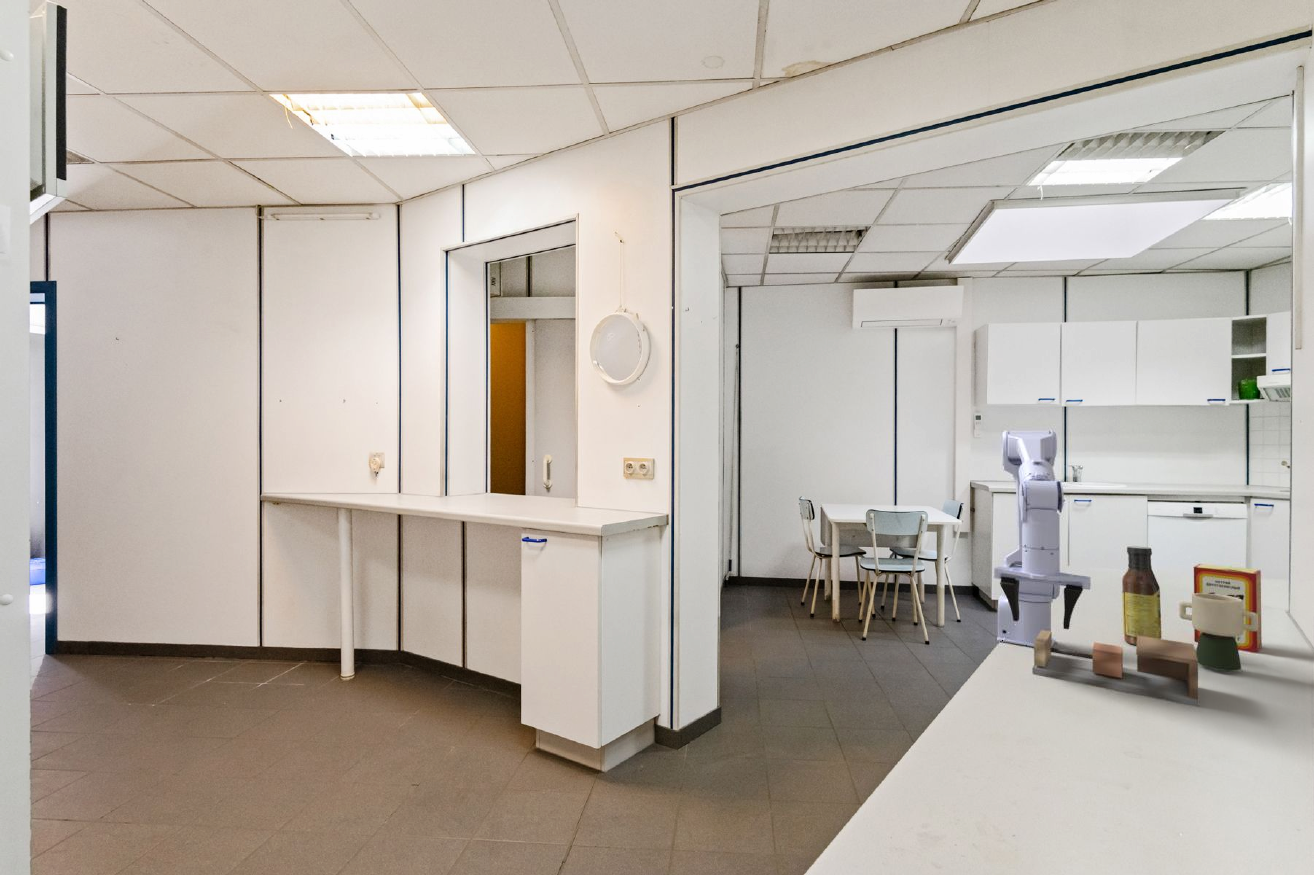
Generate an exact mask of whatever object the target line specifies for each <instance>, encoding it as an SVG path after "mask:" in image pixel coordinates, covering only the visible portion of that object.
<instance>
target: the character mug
mask: <svg viewBox="0 0 1314 875" xmlns="http://www.w3.org/2000/svg"><path fill="white" fill-rule="evenodd" d="M1178 607H1179V609H1178V610H1179V612H1178V613H1179V618H1180V619H1183V620H1187V621H1191V625H1192V627H1193V629H1196V630H1198V631H1201V632H1203V633H1201V634H1200V636H1199V639H1198V642H1197V647H1196V650H1195V651H1196V655H1197V659H1198V665H1201V666H1204V667H1206V668H1207V669H1208V668H1209V669H1212V670H1218V671H1227V672H1231V671H1238V670H1242V664H1241V657H1240V654H1239V650H1238V646H1237V642H1236V640H1235V639H1234V638H1233V637H1236V636H1241V635H1242V634H1243V632H1244V630H1249V631H1257V630H1258V615H1257V614H1256V613H1254V612H1248V611H1244V610H1243V600H1241V599H1239V598H1235V597H1231V596H1225V595H1218V594H1206V593H1195V594H1194V593H1192V594H1191V602H1189V601H1180V602H1179V605H1178ZM1187 608H1190V609H1191V615H1190V614H1187ZM1244 616H1245V617H1250V618H1251V625H1246V624H1244Z"/></svg>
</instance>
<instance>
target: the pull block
mask: <svg viewBox="0 0 1314 875" xmlns="http://www.w3.org/2000/svg"><path fill="white" fill-rule="evenodd" d="M1052 638H1053V637H1052V631H1051V632H1050V631H1044V630H1041V632H1040V633H1039V635H1038V637H1037V638H1036V640H1035V642H1034V647H1033V663H1034V664H1033V666H1034V665H1037V666H1042V667H1045V666H1046V664H1047V662H1048V660H1049V658H1050V656H1051V655H1052V653H1055V654H1059V655H1066V656H1072V657H1077V658H1082V659H1086V660H1092V662H1093V673H1097V674H1103V675H1108V676H1113V677H1119V678H1122V672H1123V668H1124V667H1123V666H1124V665H1123V664H1124V662H1123V661H1124V660H1123V646H1119V645H1118V646H1117V645H1112V644H1106V643H1099V642H1093V646H1092V653H1085V652H1079V651H1072V650H1067V649H1063V648H1056V647H1052Z"/></svg>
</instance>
